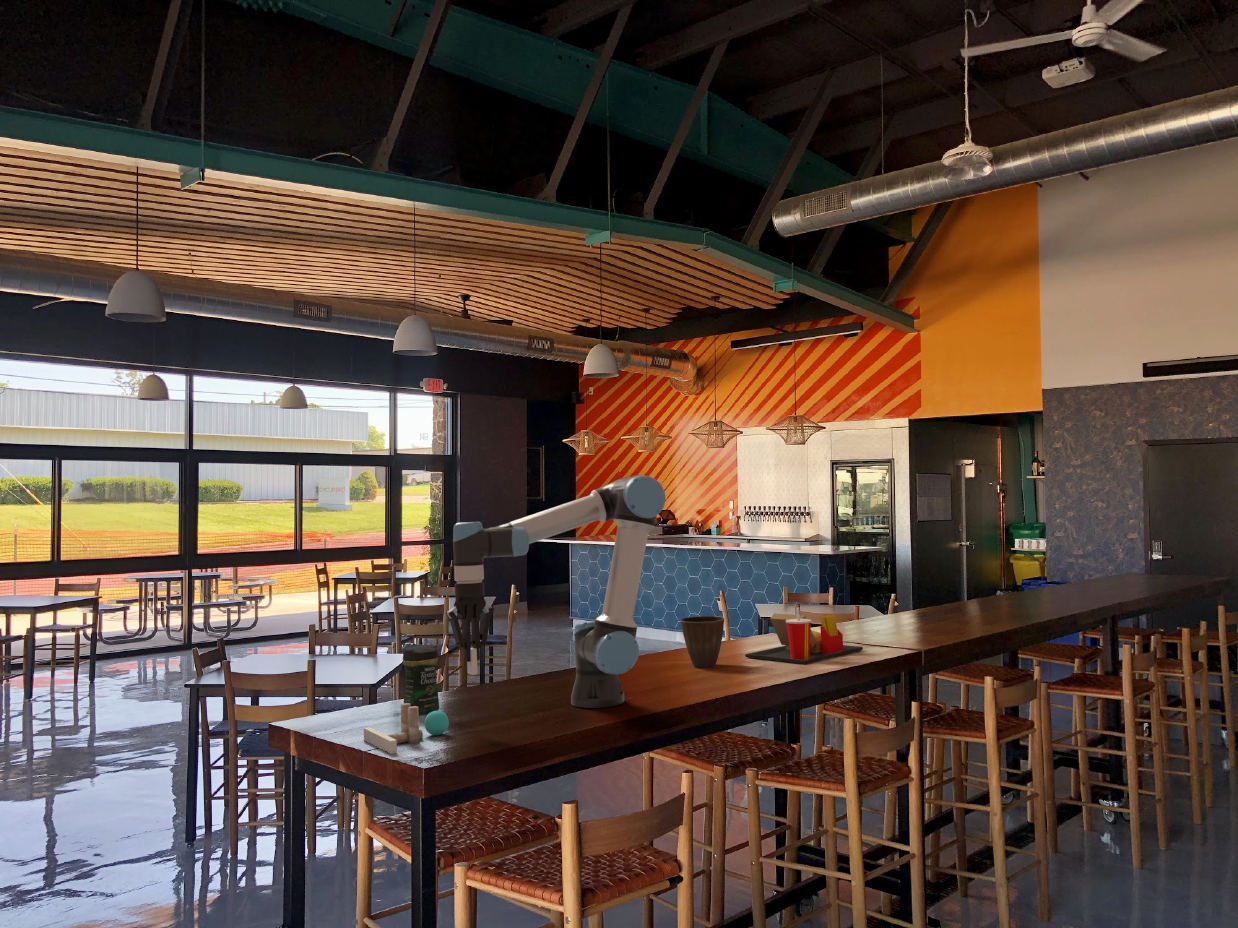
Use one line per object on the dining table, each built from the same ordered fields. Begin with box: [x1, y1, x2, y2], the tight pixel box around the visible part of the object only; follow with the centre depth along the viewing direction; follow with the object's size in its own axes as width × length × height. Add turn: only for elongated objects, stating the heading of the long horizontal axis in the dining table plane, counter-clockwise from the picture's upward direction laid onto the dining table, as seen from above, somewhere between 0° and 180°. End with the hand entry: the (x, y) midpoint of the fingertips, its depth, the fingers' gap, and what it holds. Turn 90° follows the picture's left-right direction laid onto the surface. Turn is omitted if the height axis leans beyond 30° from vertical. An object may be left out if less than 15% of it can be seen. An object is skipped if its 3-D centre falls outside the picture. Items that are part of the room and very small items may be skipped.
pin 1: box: [400, 702, 411, 733], centre depth 229 cm, size 2×2×8 cm
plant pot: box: [680, 615, 725, 669], centre depth 315 cm, size 15×15×16 cm
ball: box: [423, 710, 450, 736], centre depth 232 cm, size 6×6×6 cm
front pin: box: [386, 728, 424, 745], centre depth 226 cm, size 2×2×8 cm
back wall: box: [363, 726, 398, 755], centre depth 223 cm, size 2×18×3 cm, turn 35°
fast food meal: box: [744, 607, 864, 665], centre depth 330 cm, size 26×35×18 cm
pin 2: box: [408, 706, 420, 745], centre depth 225 cm, size 2×2×8 cm
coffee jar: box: [402, 644, 440, 716], centre depth 260 cm, size 10×8×19 cm
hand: (472, 673), depth 237 cm, fingers closed
